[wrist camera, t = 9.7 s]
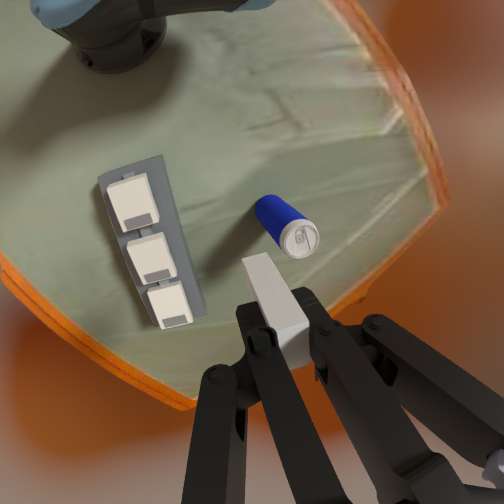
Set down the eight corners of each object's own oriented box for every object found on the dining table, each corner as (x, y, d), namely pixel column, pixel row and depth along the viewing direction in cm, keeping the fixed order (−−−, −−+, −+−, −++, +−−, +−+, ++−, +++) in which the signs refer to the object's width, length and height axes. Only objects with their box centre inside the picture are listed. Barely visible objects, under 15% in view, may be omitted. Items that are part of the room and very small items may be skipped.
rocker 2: (128, 239, 38) (126, 248, 36) (163, 230, 39) (162, 238, 37) (144, 276, 42) (143, 285, 40) (176, 267, 42) (176, 276, 40)
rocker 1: (110, 183, 34) (106, 189, 32) (146, 171, 34) (143, 177, 32) (125, 224, 38) (123, 232, 36) (159, 214, 39) (158, 222, 37)
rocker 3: (149, 287, 43) (146, 292, 41) (180, 279, 44) (179, 284, 41) (162, 322, 45) (161, 329, 43) (192, 315, 46) (192, 322, 43)
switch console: (102, 173, 38) (93, 178, 33) (162, 154, 39) (159, 156, 35) (154, 314, 50) (152, 329, 46) (205, 302, 51) (207, 316, 47)
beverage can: (285, 218, 48) (322, 254, 34) (257, 226, 47) (285, 265, 34) (281, 190, 45) (319, 217, 32) (251, 197, 45) (279, 227, 31)
